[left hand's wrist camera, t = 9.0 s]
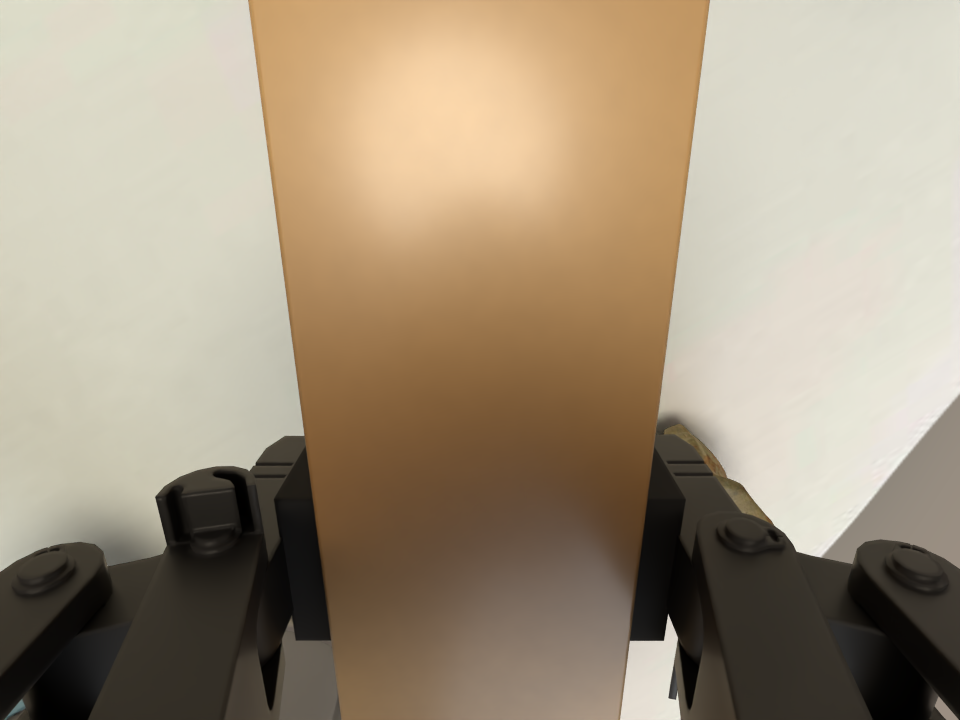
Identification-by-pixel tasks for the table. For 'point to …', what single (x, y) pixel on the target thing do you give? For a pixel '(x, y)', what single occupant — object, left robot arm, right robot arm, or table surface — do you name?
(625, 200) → the beam
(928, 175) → the table surface
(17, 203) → the table surface
